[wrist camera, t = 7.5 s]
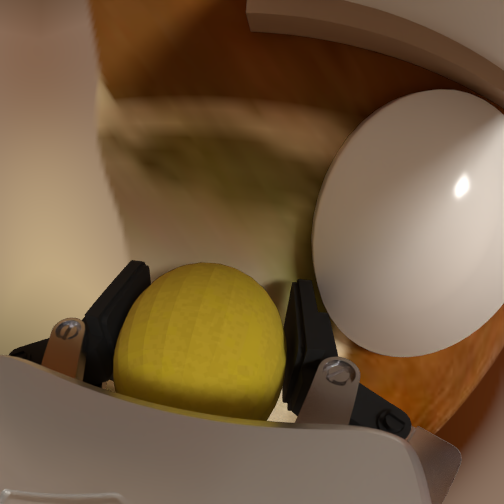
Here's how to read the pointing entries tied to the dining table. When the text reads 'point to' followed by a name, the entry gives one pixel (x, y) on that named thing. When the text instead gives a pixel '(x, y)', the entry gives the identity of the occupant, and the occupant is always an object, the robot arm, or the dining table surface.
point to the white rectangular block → (403, 33)
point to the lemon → (203, 344)
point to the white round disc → (414, 224)
